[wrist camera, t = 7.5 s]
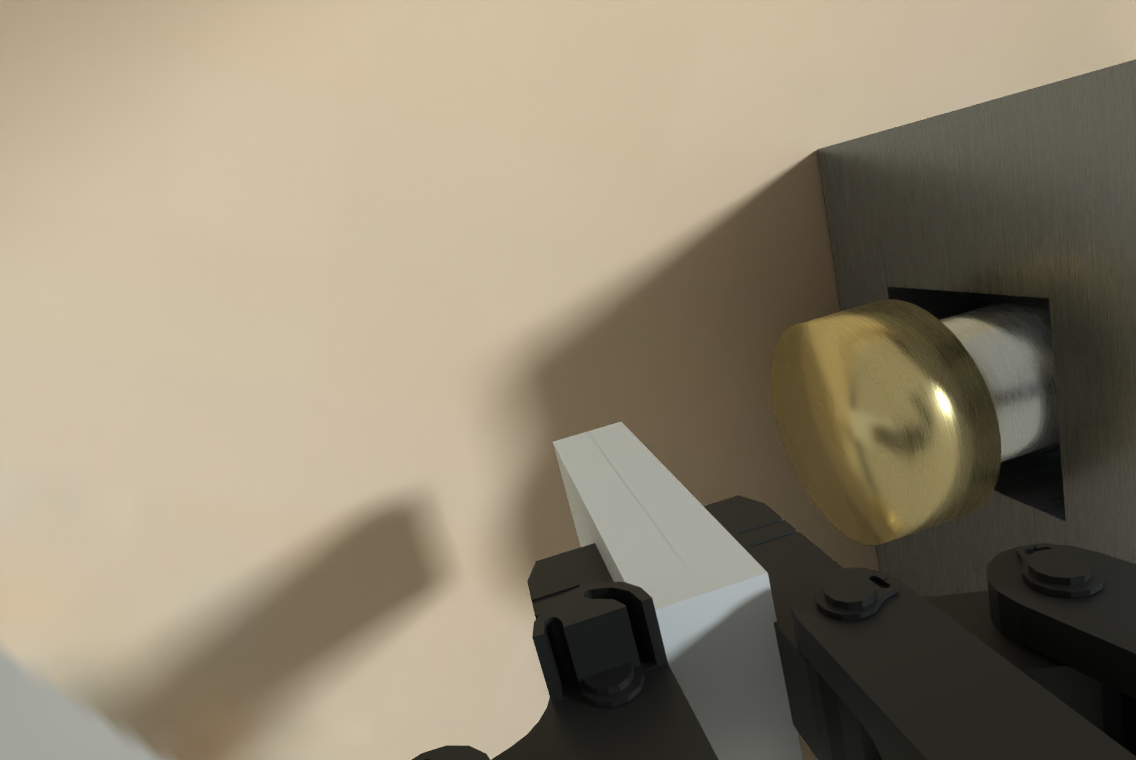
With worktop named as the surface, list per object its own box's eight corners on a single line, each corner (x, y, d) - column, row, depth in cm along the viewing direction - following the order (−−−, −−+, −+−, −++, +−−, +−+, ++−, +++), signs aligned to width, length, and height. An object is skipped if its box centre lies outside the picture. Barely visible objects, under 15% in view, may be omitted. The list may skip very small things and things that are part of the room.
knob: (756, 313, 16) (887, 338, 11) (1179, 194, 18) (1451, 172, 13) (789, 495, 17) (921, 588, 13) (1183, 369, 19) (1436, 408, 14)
